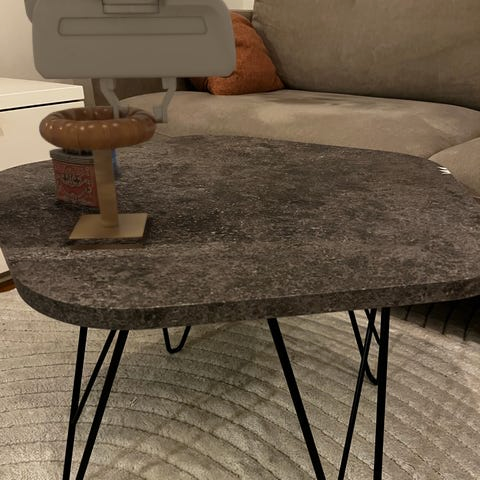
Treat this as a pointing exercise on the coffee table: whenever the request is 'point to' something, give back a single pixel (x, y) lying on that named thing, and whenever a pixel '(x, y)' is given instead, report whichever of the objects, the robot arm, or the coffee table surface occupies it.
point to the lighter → (75, 176)
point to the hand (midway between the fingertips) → (142, 123)
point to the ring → (96, 128)
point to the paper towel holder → (108, 212)
